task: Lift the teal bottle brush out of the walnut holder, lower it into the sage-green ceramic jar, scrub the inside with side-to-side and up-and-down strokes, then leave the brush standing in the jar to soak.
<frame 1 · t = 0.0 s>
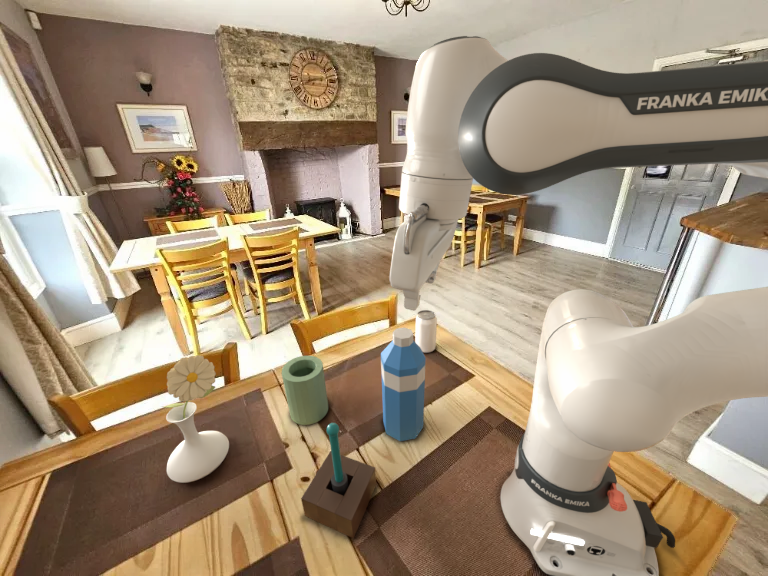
hand: (420, 293, 46), 39 cm above the table, tool pointing down, fingers open, 8 cm apart
bottle brush: (337, 465, 53), in the brush holder
brush holder: (342, 499, 57), on the table
flower in vase: (205, 459, 65), on the table
water bottle: (403, 424, 72), on the table
can: (425, 347, 99), on the table
jar: (309, 409, 77), on the table
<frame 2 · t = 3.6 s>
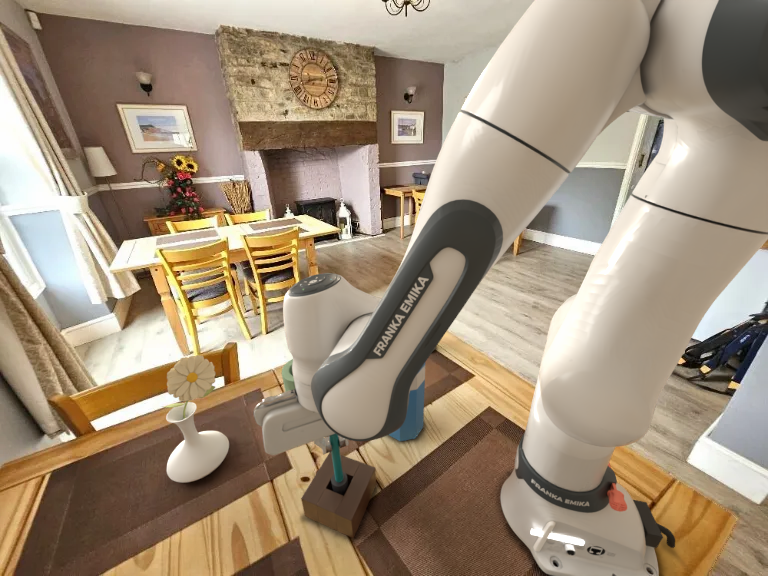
hand: (335, 446, 51), 14 cm above the table, tool pointing down, fingers closed on bottle brush
bottle brush: (337, 465, 53), in the brush holder, touching gripper
everything else where it was.
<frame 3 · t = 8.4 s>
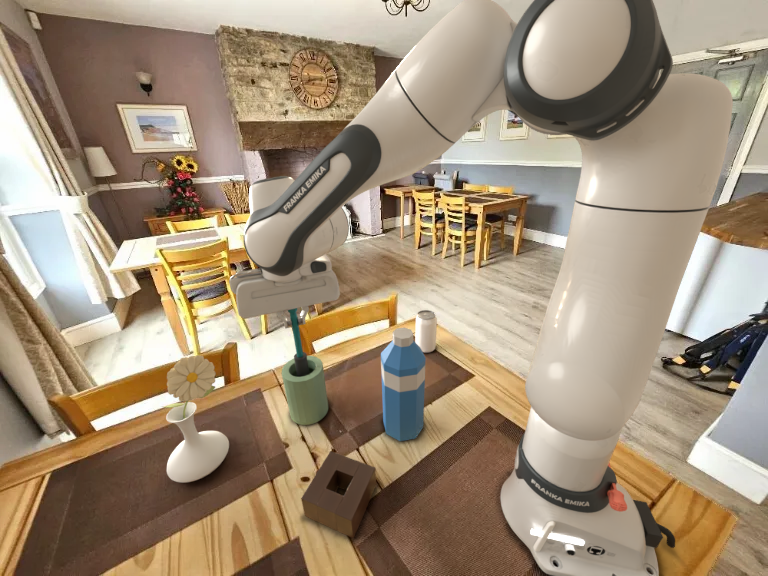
hand: (295, 325, 66), 24 cm above the table, tool pointing down, fingers closed on bottle brush
bottle brush: (298, 342, 68), point 20 cm above the table, touching gripper
everything else where it was.
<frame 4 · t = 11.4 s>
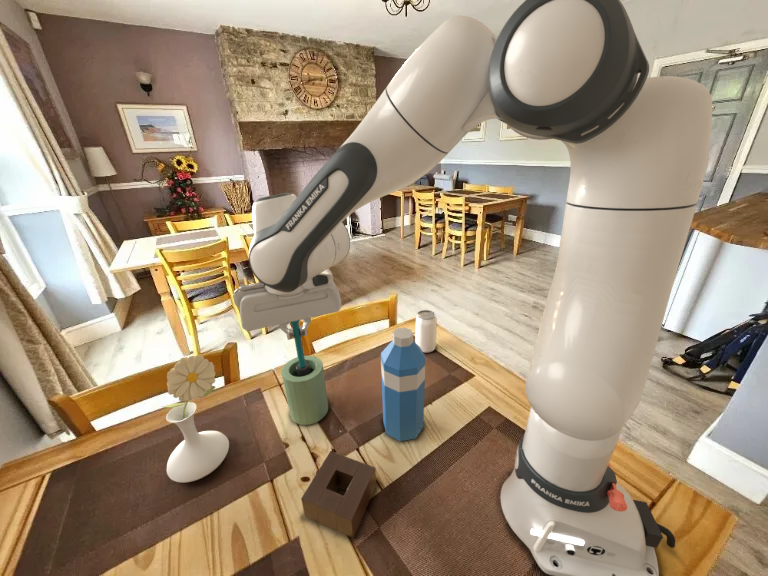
hand: (297, 336, 68), 22 cm above the table, tool pointing down, fingers closed on bottle brush
bottle brush: (300, 353, 69), point 17 cm above the table, touching gripper
everything else where it was.
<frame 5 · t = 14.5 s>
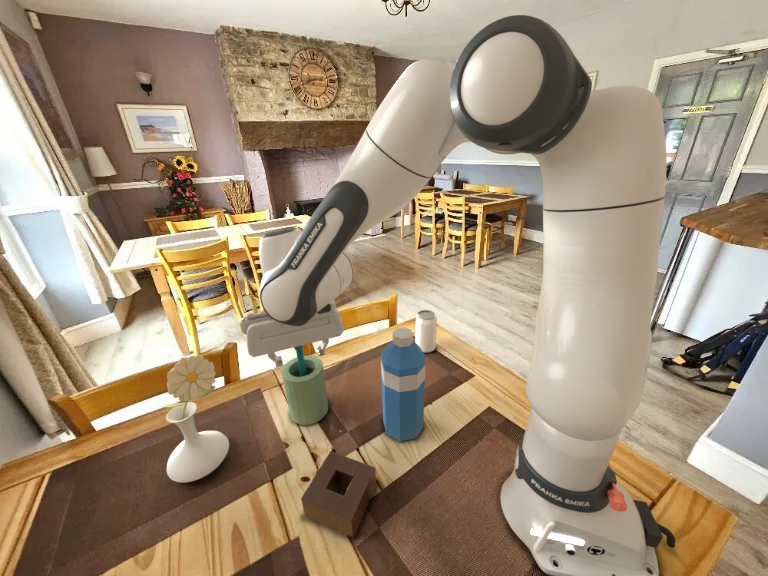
hand: (301, 359, 70), 15 cm above the table, tool pointing down, fingers open, 8 cm apart
bottle brush: (303, 376, 72), in the jar, point 10 cm above the table
everything else where it was.
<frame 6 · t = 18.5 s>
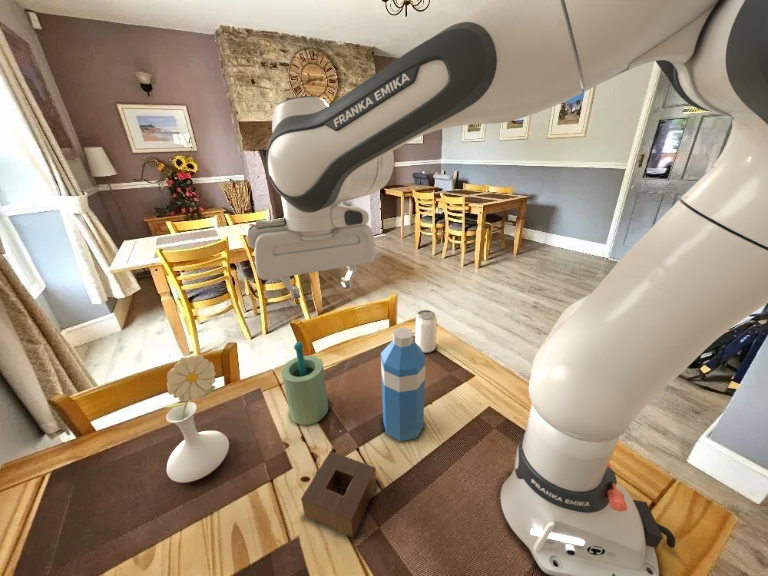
hand: (322, 292, 56), 35 cm above the table, tool pointing down, fingers open, 8 cm apart
nothing on the table moved.
at the end: bottle brush 0.1 cm off-centre in the jar, point 10.3 cm above the jar's base; bottle brush tilted 0°; the gripper is holding nothing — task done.
